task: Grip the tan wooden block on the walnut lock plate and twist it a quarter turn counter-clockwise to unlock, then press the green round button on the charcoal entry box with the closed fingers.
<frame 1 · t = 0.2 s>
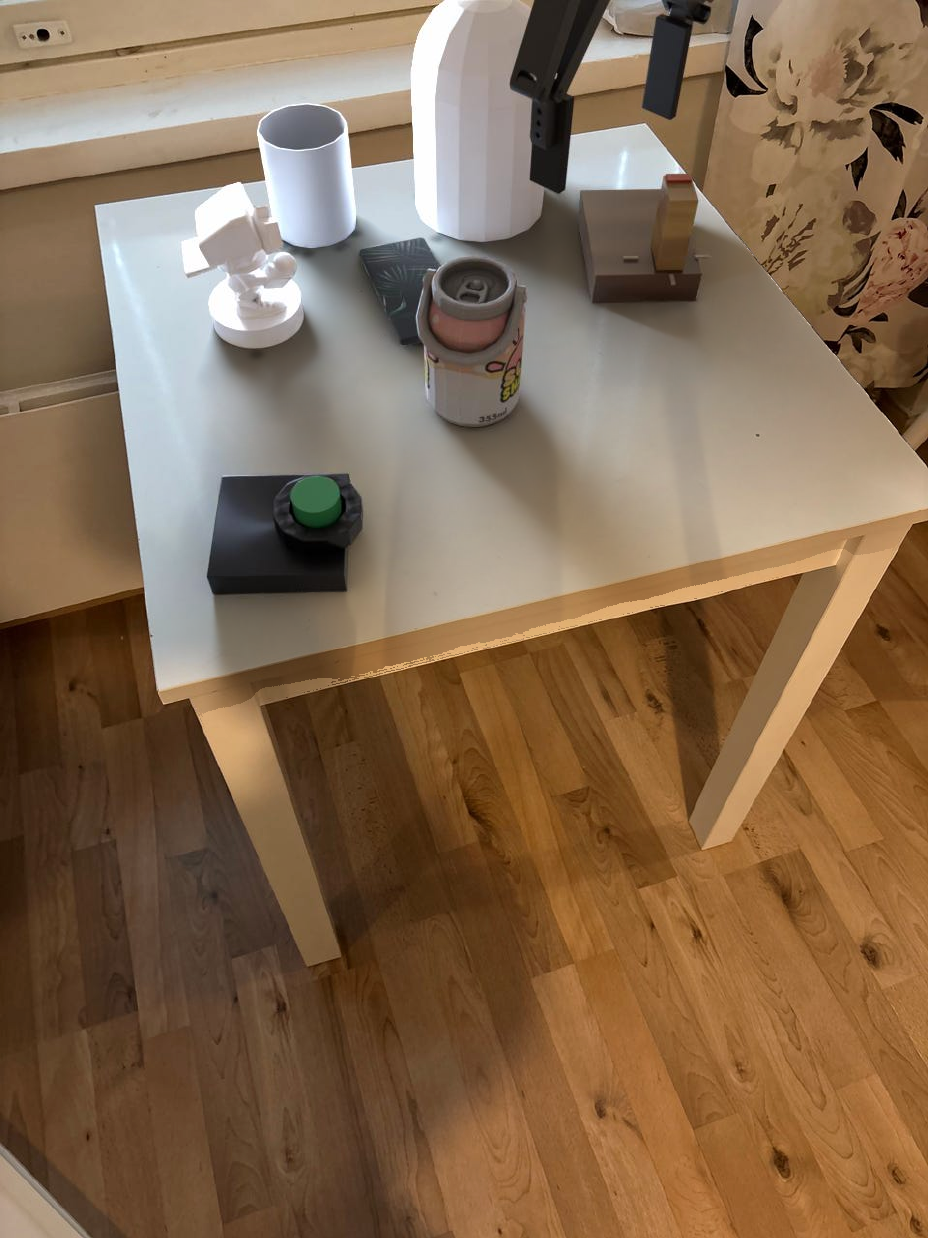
hand: (605, 147, 71), 19 cm above the table, tool pointing down, fingers open, 13 cm apart
cup: (315, 224, 98), on the table
container: (479, 205, 100), on the table
open button: (316, 501, 70), point 4 cm above the table, slide at 0.1 cm
character figurine: (253, 319, 89), on the table
beverage can: (470, 405, 83), on the table
tan wooden block: (673, 222, 87), point 7 cm above the table, hinge at 0.0°
smartphone: (413, 295, 91), on the table
lock plate: (634, 257, 95), on the table
entry box: (284, 541, 74), on the table
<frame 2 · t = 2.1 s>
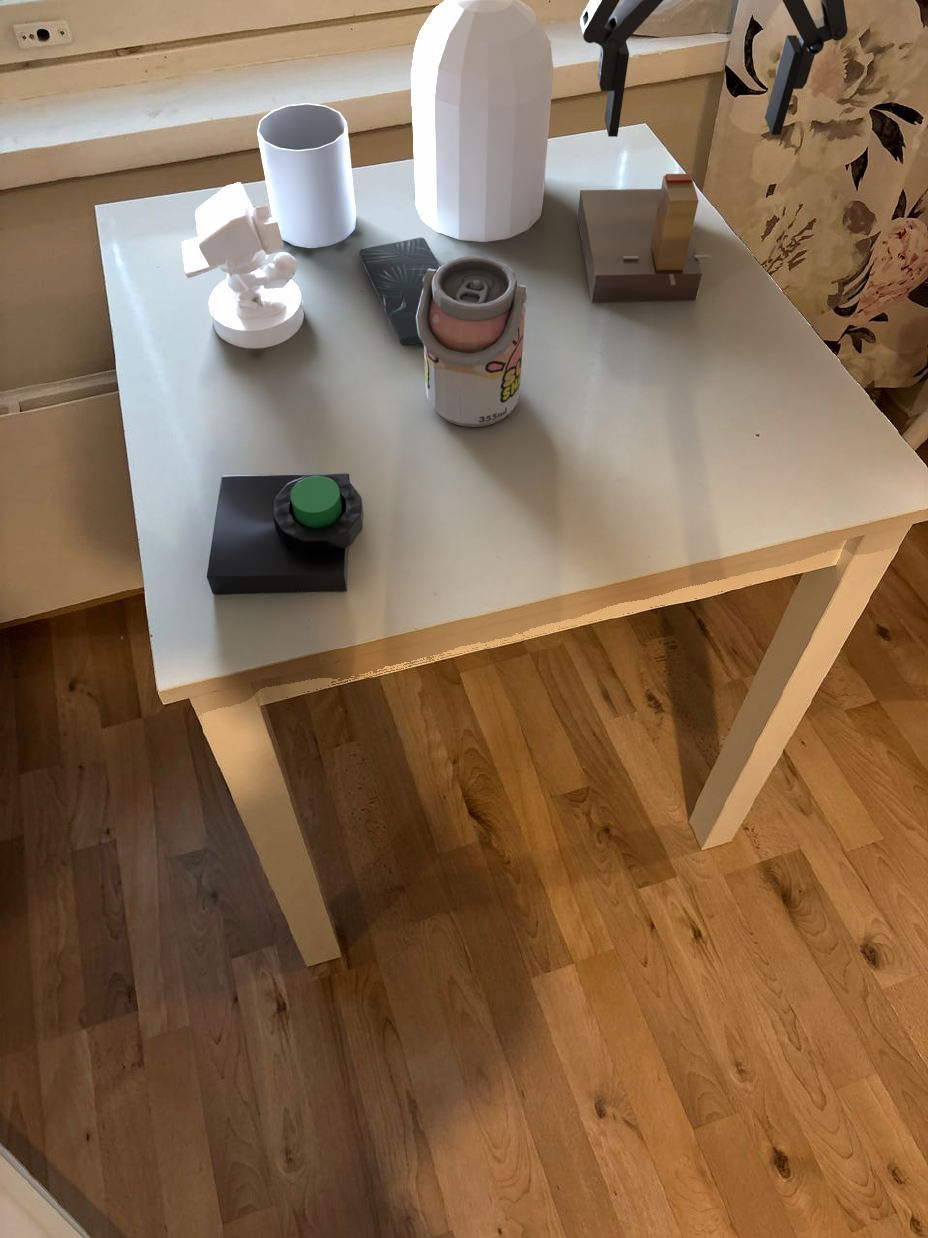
hand: (691, 127, 79), 15 cm above the table, tool pointing down, fingers open, 13 cm apart
nothing on the table moved.
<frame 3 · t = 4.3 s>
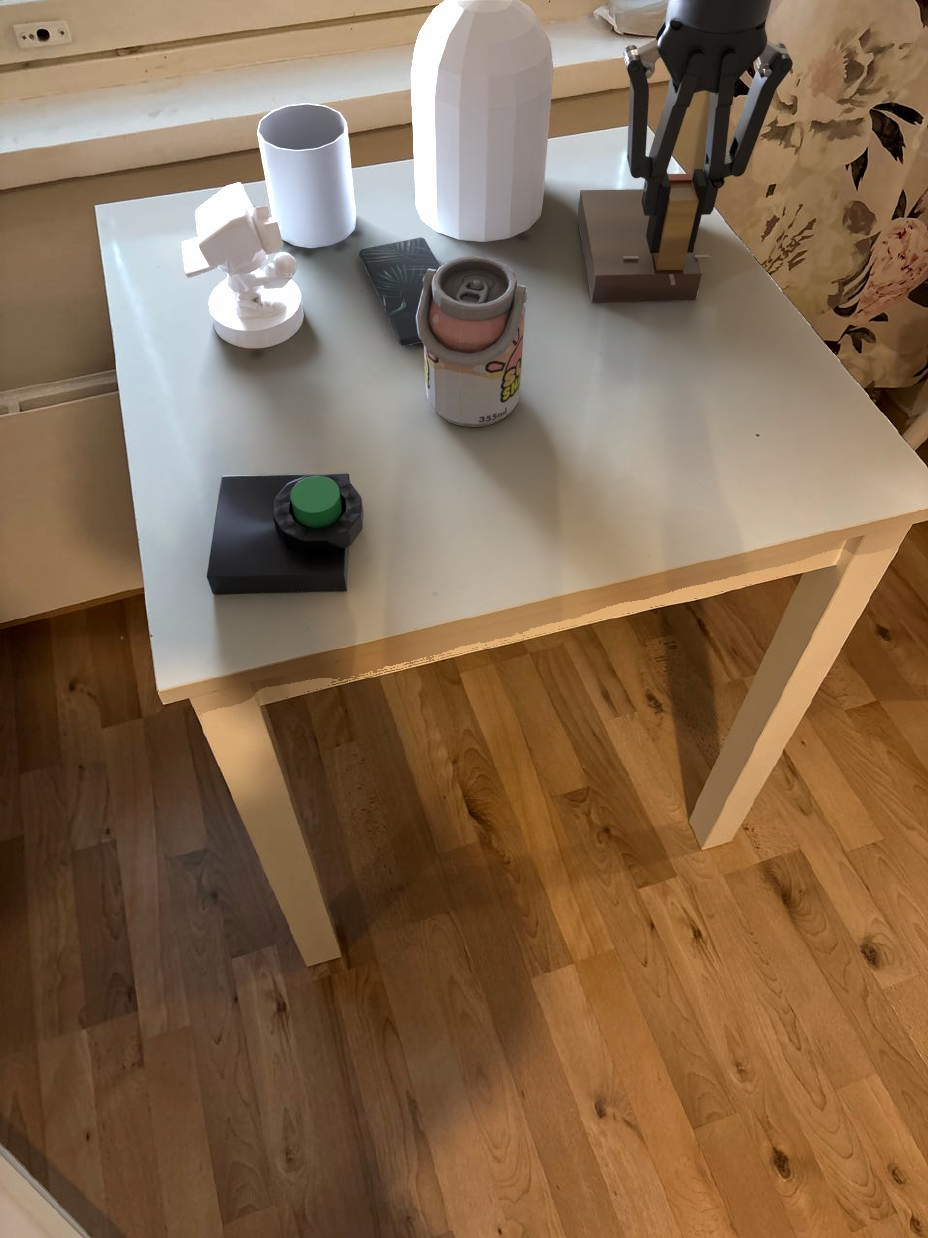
hand: (669, 243, 88), 5 cm above the table, tool pointing down, fingers closed on tan wooden block, 2 cm apart
tan wooden block: (673, 222, 87), point 7 cm above the table, hinge at -0.1°, touching gripper
everything else where it was.
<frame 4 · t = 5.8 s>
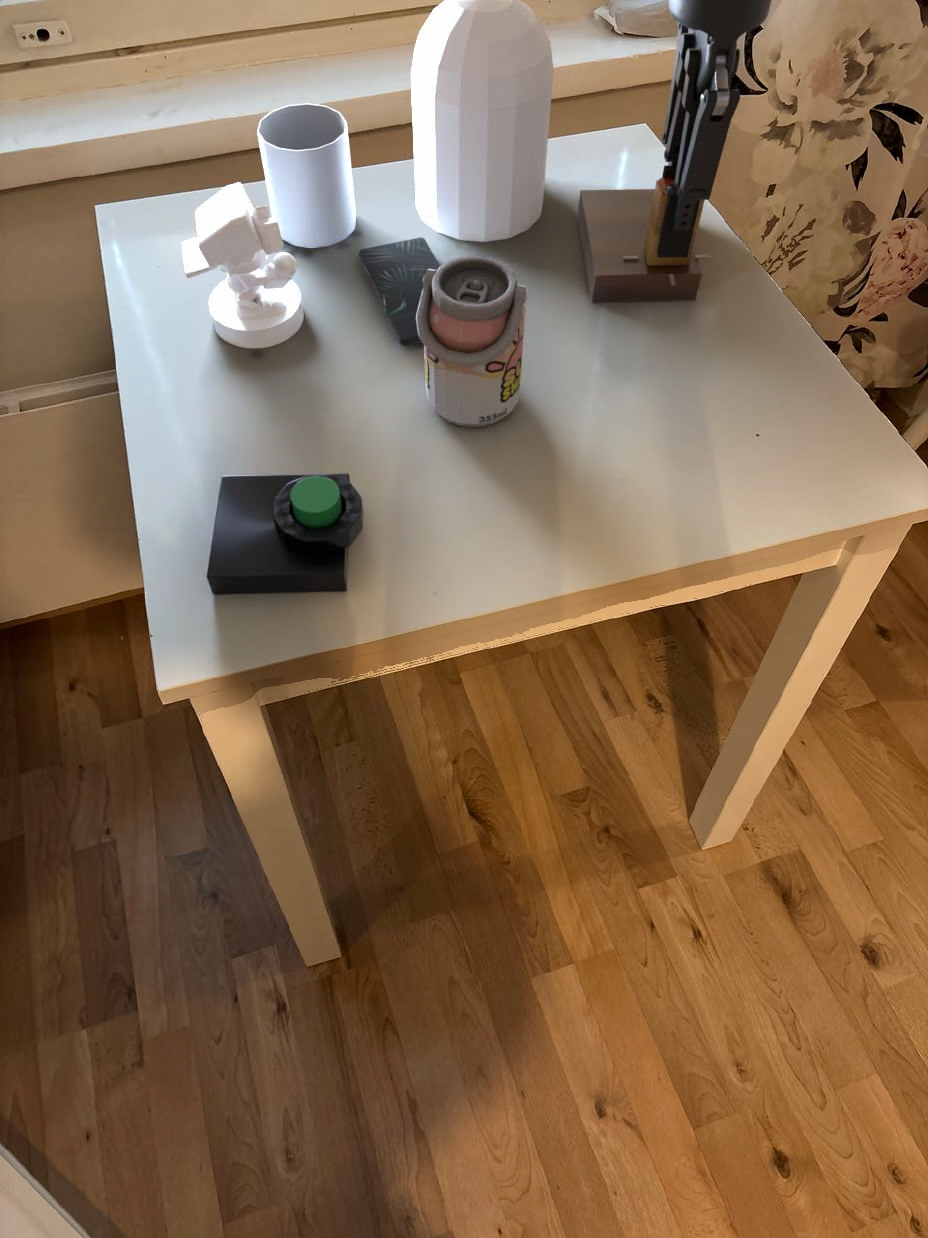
hand: (669, 243, 88), 4 cm above the table, tool pointing down, fingers closed on tan wooden block, 2 cm apart
tan wooden block: (673, 222, 87), point 7 cm above the table, hinge at 89.8°, touching gripper
everything else where it was.
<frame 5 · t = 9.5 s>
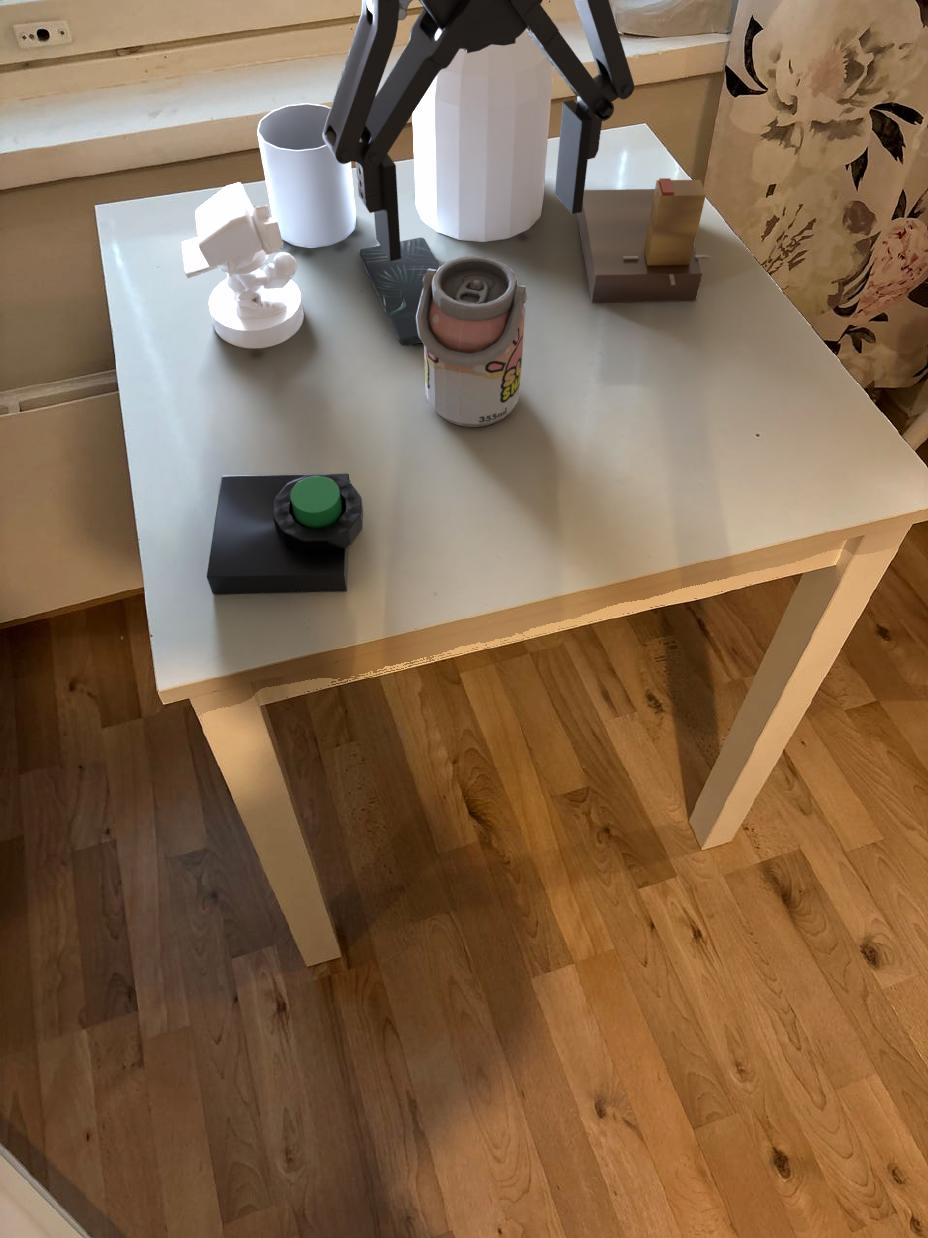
hand: (480, 225, 66), 19 cm above the table, tool pointing down, fingers open, 13 cm apart
tan wooden block: (673, 222, 87), point 7 cm above the table, hinge at 89.8°
everything else where it was.
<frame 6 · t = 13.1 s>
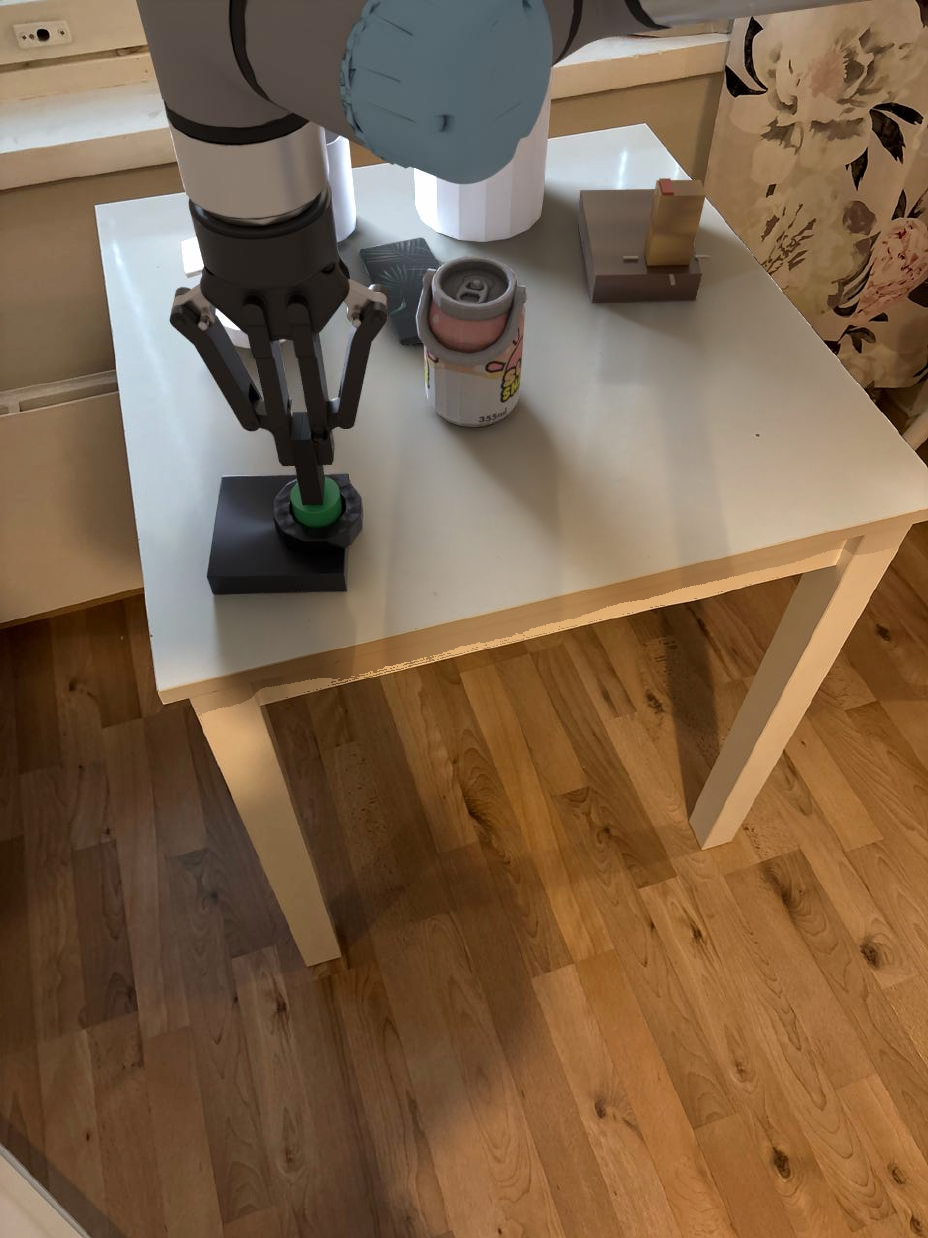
hand: (313, 490, 69), 6 cm above the table, tool pointing down, fingers closed
open button: (316, 501, 70), point 4 cm above the table, slide at 0.1 cm, touching gripper
everything else where it was.
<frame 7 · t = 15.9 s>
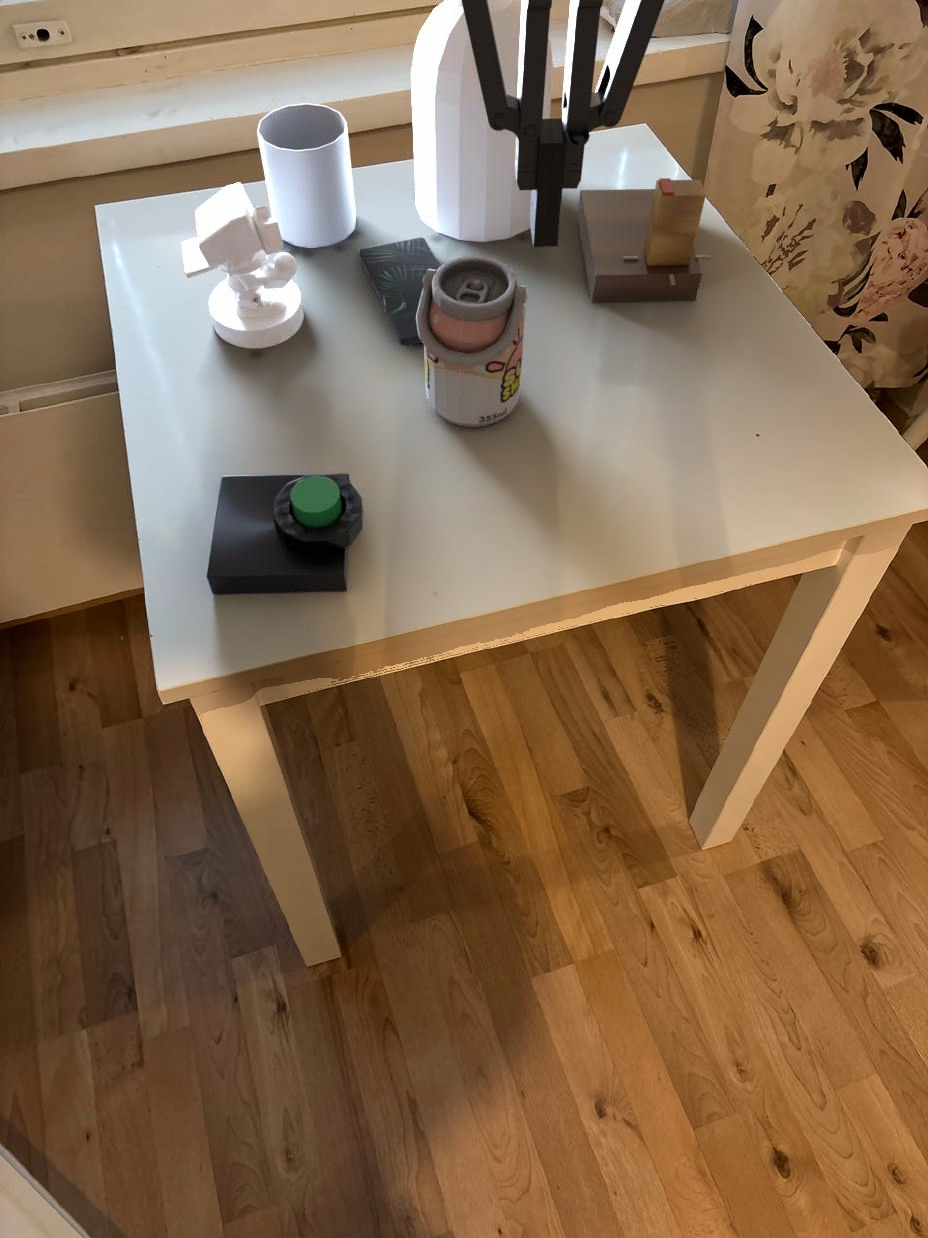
hand: (543, 233, 60), 22 cm above the table, tool pointing down, fingers closed
open button: (316, 501, 70), point 4 cm above the table, slide at 0.1 cm
everything else where it was.
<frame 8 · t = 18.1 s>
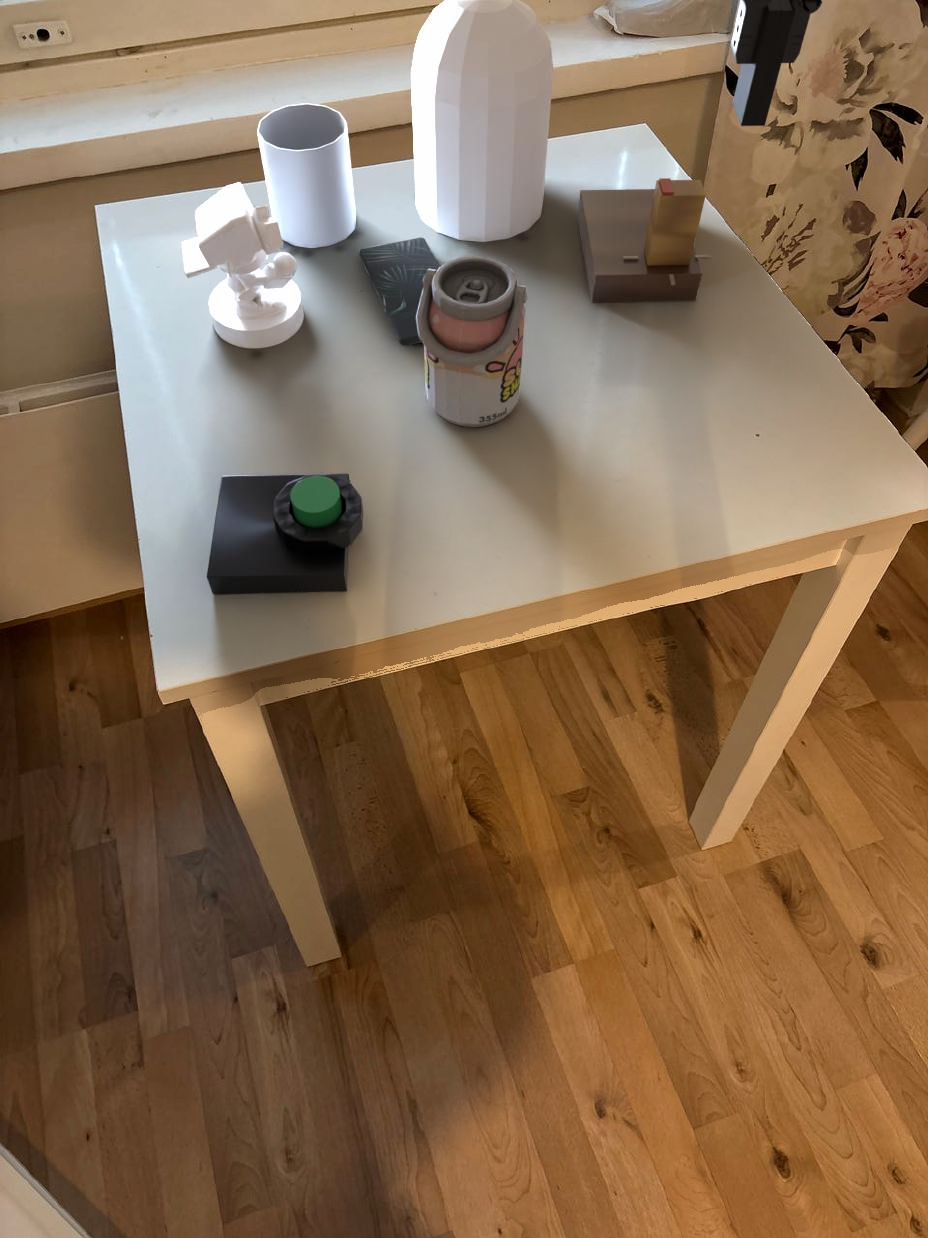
hand: (748, 113, 59), 26 cm above the table, tool pointing down, fingers closed
nothing on the table moved.
at the end: tan wooden block at +90° (first picture: +0°); open button pushed in 1.0 cm at the most during the clip, back to where it started at the end; open button slide at 0.1 cm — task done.
